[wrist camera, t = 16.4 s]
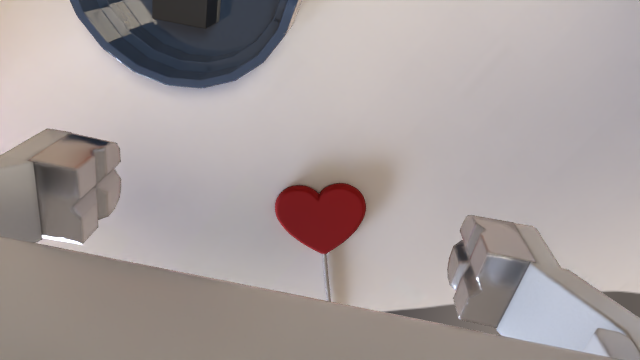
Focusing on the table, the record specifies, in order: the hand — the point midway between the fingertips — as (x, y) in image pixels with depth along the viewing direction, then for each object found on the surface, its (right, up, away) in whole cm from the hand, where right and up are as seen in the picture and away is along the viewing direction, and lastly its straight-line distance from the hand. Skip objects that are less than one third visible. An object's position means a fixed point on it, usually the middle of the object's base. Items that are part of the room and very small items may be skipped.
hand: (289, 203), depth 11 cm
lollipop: (+1, -6, +33) cm, 34 cm away
